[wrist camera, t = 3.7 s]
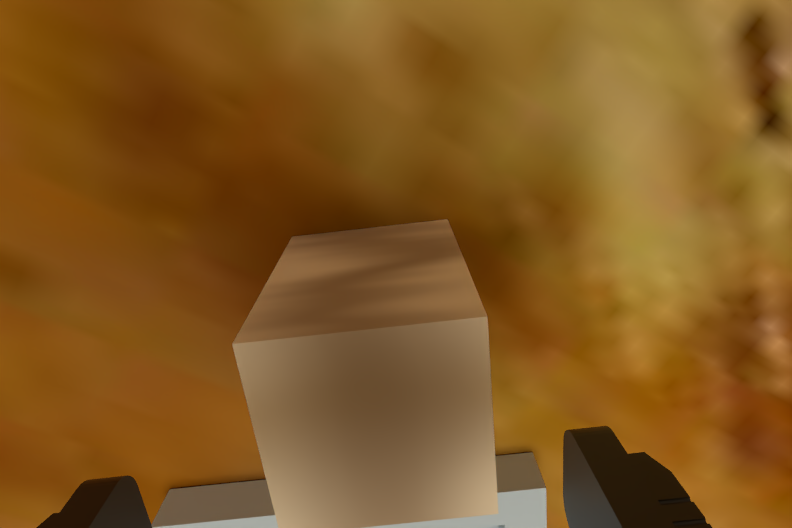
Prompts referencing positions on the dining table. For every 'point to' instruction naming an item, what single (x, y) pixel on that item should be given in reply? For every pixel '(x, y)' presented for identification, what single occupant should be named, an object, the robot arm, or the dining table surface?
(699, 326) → the dining table surface
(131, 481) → the robot arm
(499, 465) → the tray
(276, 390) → the maple block
